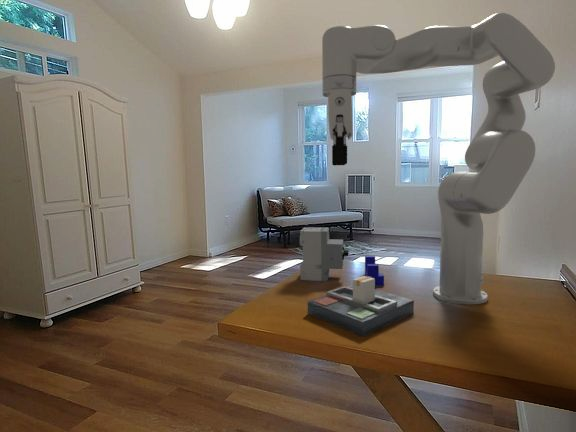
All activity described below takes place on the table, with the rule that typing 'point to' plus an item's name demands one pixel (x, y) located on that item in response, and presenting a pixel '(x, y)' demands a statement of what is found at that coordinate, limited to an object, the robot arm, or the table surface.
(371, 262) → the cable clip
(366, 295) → the taped parcel
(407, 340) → the table surface
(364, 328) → the panel
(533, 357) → the table surface
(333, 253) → the circuit breaker
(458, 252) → the robot arm
